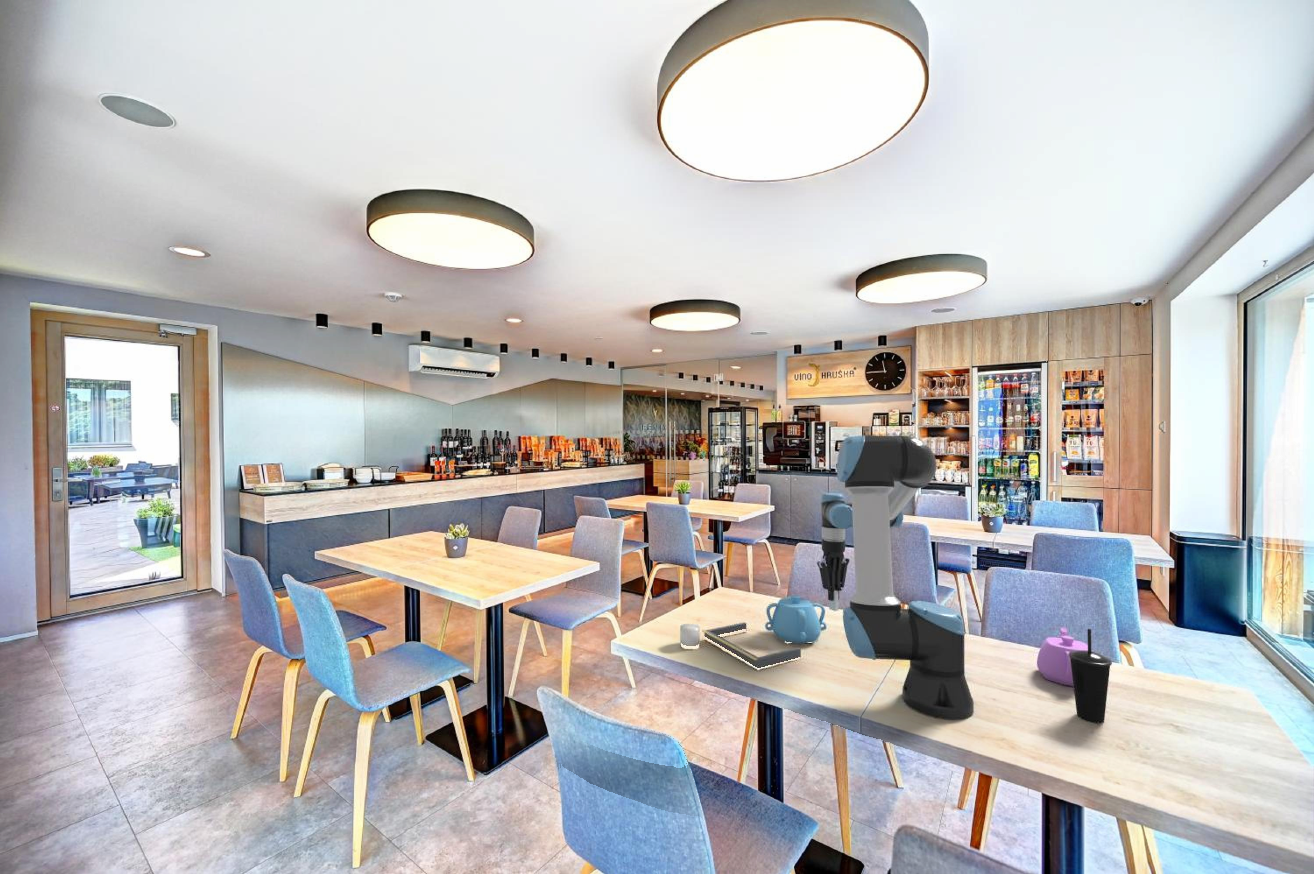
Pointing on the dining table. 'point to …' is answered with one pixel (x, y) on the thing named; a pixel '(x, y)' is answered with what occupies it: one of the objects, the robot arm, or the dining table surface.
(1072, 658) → the drinking cup
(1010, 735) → the dining table surface
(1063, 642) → the teapot
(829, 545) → the robot arm
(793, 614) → the decorative pot
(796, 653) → the grey piece
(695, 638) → the white rounded cylinder
